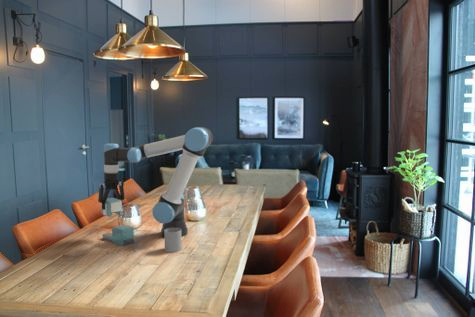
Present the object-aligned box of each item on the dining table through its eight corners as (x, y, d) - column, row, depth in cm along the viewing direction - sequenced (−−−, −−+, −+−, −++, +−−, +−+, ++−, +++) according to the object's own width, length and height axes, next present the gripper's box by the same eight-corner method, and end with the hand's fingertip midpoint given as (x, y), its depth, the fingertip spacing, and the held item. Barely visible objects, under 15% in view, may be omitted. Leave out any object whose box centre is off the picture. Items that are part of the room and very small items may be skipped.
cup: (167, 253, 195) (167, 233, 194) (162, 248, 202) (162, 229, 201) (184, 250, 199) (183, 230, 198) (178, 246, 206) (178, 227, 205)
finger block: (101, 213, 219) (101, 199, 218) (113, 211, 224) (113, 197, 223) (110, 217, 212) (110, 202, 211) (122, 215, 217) (122, 200, 216)
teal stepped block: (134, 242, 212) (133, 227, 211) (123, 246, 206) (122, 230, 205) (111, 236, 224) (110, 221, 223) (100, 239, 218) (99, 224, 217)
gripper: (124, 170, 226) (124, 210, 228) (90, 173, 211) (91, 215, 214) (131, 171, 220) (131, 212, 223) (97, 174, 206) (97, 218, 208)
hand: (111, 213), depth 218 cm, fingers closed on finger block, 7 cm apart
